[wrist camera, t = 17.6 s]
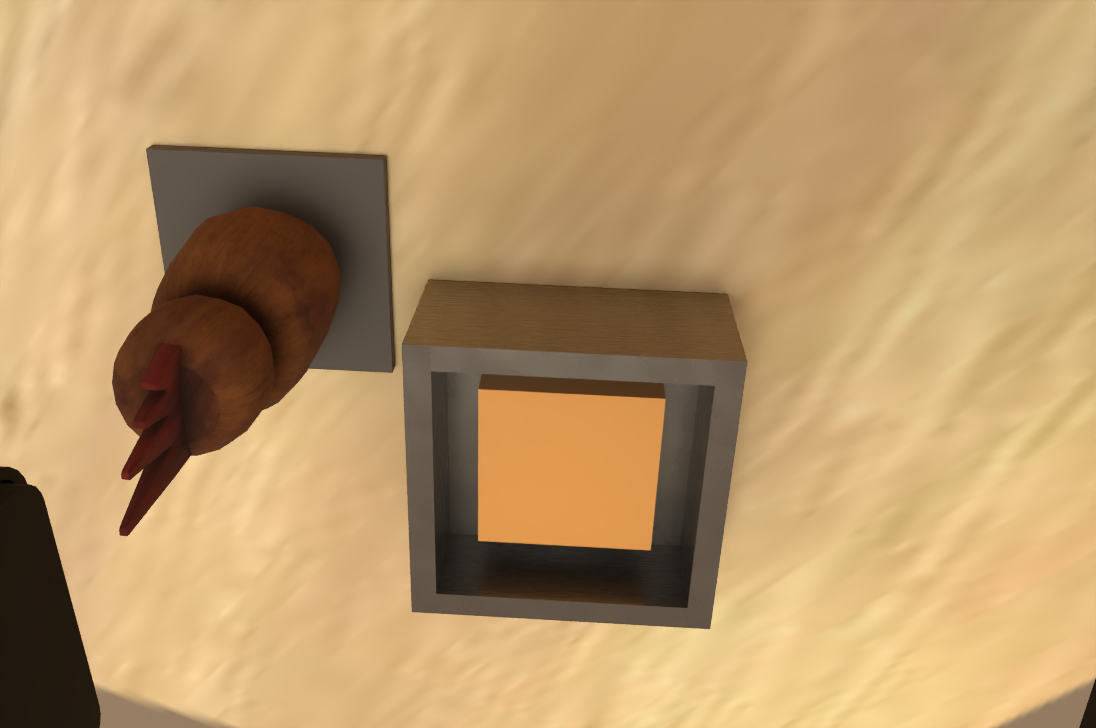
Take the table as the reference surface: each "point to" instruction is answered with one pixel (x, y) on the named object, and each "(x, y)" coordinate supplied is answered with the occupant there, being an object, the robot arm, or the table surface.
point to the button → (568, 460)
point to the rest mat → (313, 196)
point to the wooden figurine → (221, 341)
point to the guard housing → (579, 353)
